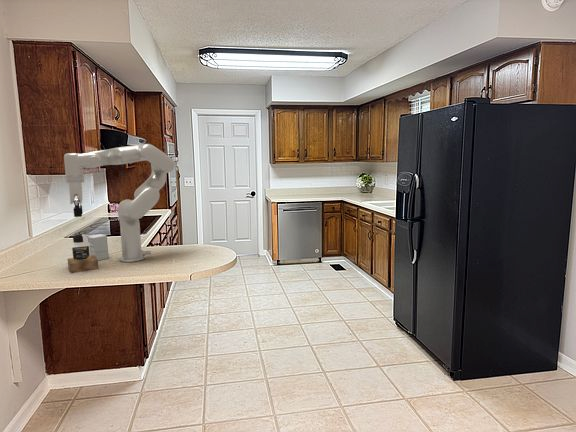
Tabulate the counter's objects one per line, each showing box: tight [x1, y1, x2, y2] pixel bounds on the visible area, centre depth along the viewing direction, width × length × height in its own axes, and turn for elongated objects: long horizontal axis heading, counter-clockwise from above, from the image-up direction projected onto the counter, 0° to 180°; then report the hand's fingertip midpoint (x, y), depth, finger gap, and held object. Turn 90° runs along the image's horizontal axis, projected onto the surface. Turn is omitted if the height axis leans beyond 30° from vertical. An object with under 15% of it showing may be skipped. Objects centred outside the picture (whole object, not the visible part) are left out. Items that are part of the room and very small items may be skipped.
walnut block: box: [67, 255, 99, 274], centre depth 197 cm, size 12×12×5 cm
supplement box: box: [87, 233, 110, 261], centre depth 214 cm, size 7×7×13 cm
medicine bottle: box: [71, 233, 91, 261], centre depth 196 cm, size 7×7×12 cm
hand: (78, 215), depth 193 cm, fingers open, 9 cm apart
